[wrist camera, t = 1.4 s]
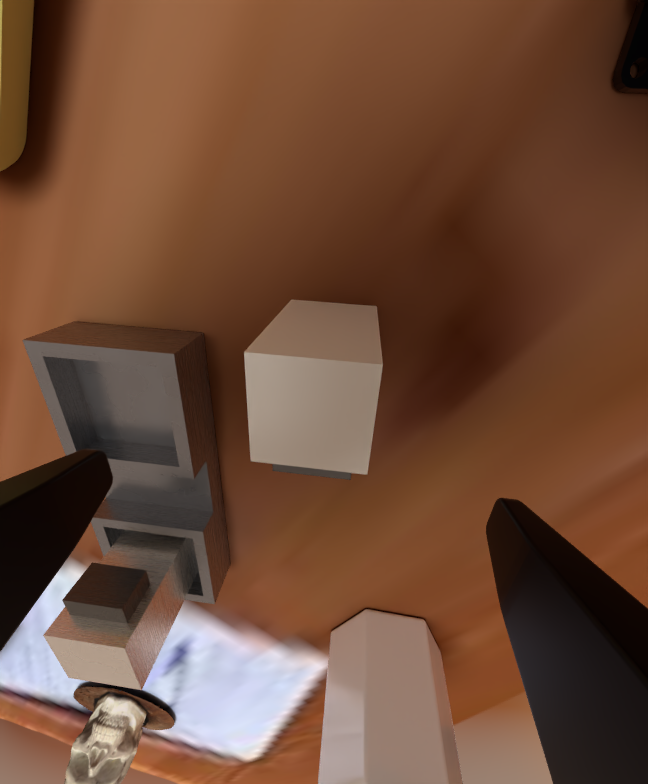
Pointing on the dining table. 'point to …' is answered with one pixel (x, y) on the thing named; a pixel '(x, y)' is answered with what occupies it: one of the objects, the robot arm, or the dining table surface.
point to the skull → (111, 734)
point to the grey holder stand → (136, 489)
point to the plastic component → (14, 76)
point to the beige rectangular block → (315, 389)
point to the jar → (386, 705)
